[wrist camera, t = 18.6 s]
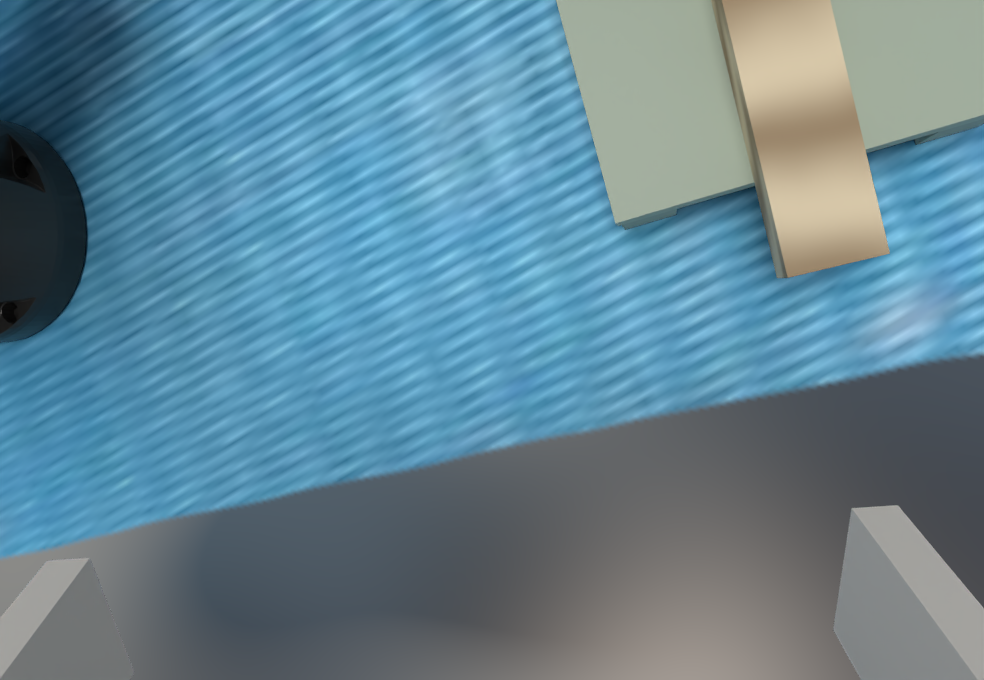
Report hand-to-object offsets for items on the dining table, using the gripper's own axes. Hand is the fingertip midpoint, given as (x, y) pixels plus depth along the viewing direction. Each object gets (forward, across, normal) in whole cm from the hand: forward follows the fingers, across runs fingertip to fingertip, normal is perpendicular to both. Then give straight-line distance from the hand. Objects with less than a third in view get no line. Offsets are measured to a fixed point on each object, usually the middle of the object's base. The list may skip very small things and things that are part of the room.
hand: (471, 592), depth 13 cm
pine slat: (+26, +13, +8) cm, 31 cm away
